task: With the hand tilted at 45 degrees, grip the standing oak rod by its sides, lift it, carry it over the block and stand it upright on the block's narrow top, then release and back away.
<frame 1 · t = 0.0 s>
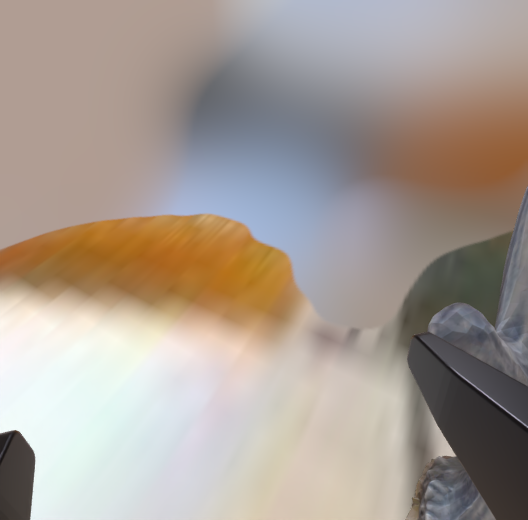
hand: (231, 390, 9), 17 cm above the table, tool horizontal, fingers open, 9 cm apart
antler: (466, 490, 22), on the table
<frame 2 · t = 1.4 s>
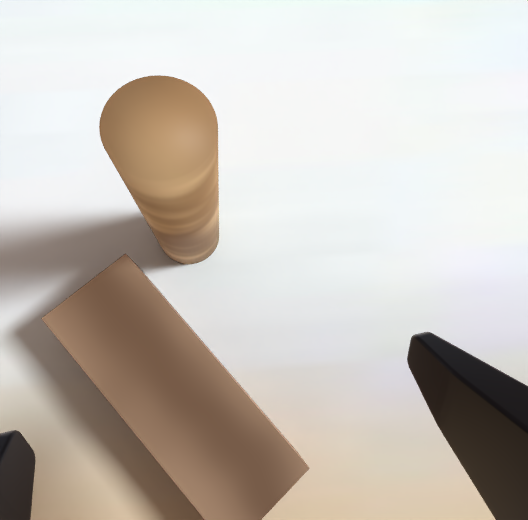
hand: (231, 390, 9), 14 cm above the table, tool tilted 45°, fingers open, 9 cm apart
block: (180, 387, 22), on the table
oak rod: (189, 235, 24), on the table
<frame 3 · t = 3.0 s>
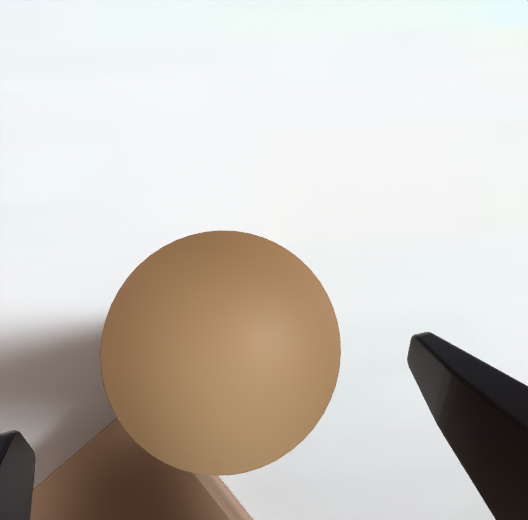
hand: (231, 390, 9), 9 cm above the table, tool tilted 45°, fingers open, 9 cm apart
oak rod: (221, 346, 18), on the table
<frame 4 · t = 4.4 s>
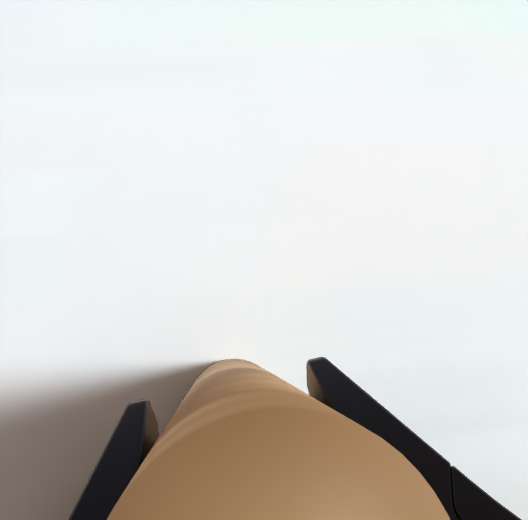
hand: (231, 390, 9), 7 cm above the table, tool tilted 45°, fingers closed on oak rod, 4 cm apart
oak rod: (233, 406, 15), on the table, touching gripper
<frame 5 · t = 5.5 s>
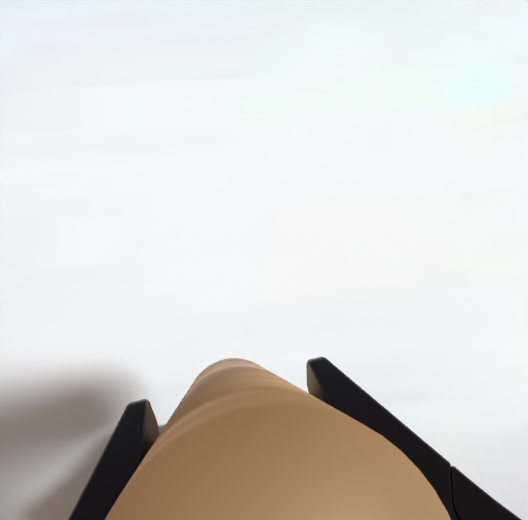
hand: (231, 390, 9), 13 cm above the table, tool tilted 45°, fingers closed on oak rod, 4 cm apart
oak rod: (233, 406, 15), point 7 cm above the table, touching gripper
when the fingers open (10 cm above the table, at t = 6.9 s): oak rod stays where it is, resting on block.
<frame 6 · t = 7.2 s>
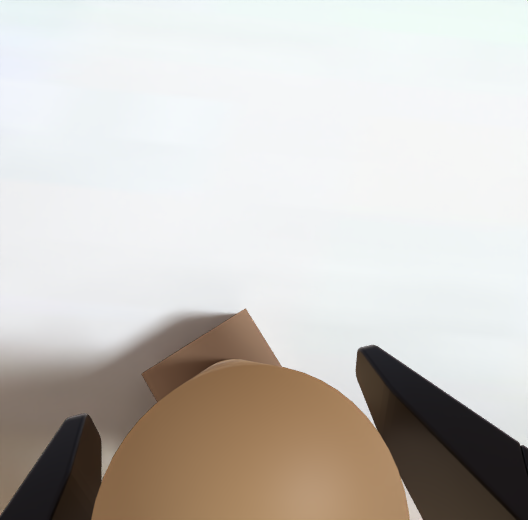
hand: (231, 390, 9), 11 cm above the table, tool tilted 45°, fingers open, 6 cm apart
block: (274, 468, 18), on the table
oak rod: (233, 404, 16), point 3 cm above the table, touching block
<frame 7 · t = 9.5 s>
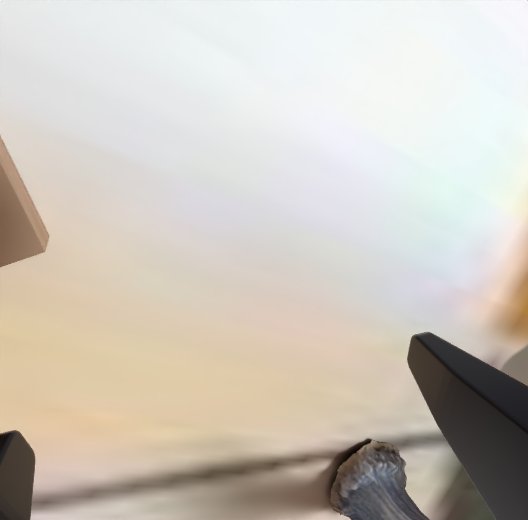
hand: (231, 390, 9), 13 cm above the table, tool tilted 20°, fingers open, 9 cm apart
antler: (380, 467, 34), on the table
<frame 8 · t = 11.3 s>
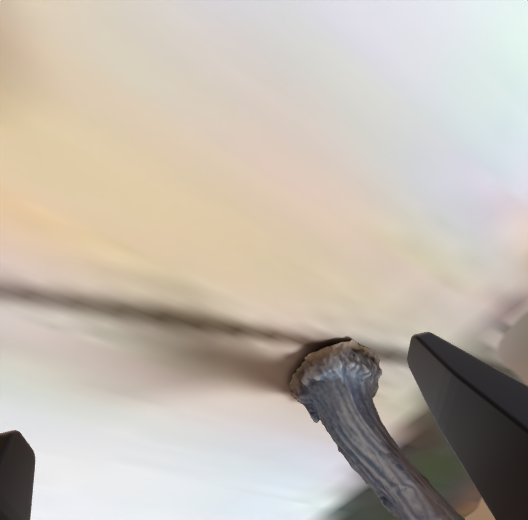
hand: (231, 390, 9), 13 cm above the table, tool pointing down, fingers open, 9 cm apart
antler: (354, 371, 31), on the table
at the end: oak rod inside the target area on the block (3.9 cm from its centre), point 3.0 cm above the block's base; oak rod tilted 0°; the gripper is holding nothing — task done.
